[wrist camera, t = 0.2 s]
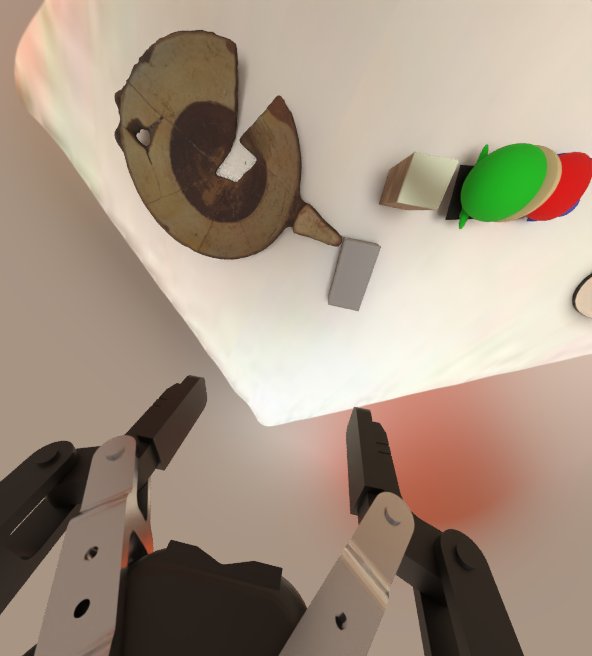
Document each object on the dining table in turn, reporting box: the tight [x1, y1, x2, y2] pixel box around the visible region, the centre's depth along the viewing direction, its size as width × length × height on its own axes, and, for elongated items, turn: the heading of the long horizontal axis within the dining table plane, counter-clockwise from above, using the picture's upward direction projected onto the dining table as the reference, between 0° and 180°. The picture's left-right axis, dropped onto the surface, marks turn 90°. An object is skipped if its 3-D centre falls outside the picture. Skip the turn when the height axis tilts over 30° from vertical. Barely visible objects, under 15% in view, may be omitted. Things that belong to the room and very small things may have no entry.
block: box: [379, 152, 459, 210], centre depth 25 cm, size 4×4×10 cm
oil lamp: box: [115, 30, 342, 259], centre depth 29 cm, size 22×30×8 cm
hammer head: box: [328, 237, 381, 311], centre depth 34 cm, size 10×5×3 cm, turn 170°
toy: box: [445, 143, 592, 229], centre depth 25 cm, size 8×8×15 cm
